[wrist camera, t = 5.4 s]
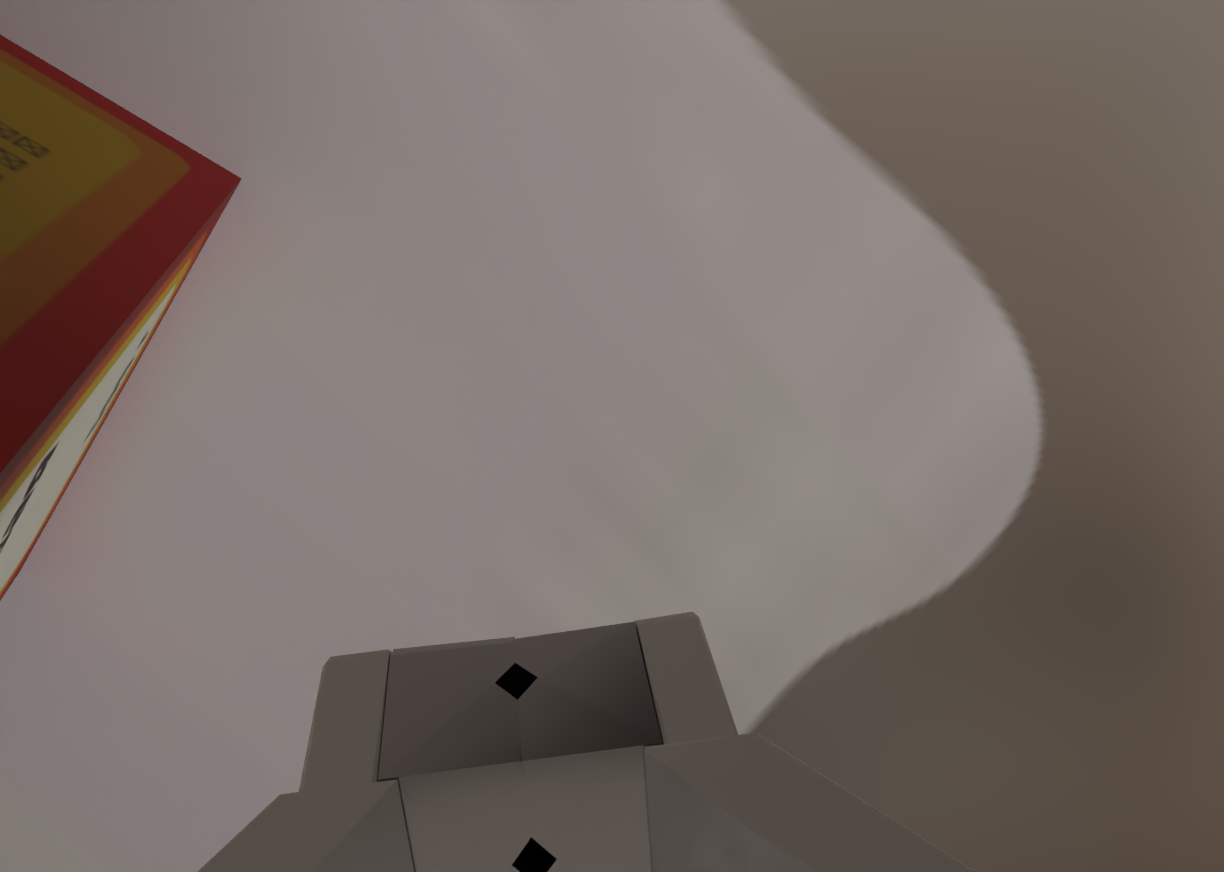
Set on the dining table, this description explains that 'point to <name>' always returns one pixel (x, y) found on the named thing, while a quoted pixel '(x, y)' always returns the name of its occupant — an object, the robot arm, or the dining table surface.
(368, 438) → the dining table surface
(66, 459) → the baking soda box
